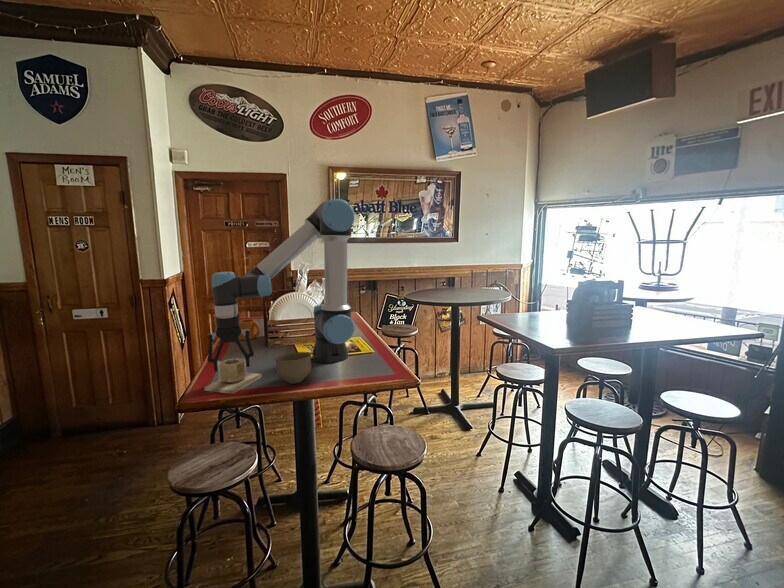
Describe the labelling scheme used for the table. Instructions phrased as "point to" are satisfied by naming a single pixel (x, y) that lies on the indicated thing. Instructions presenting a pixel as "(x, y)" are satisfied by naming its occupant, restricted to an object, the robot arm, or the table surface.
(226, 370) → the collar
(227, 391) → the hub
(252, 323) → the mug
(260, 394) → the table surface
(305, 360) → the bowl
